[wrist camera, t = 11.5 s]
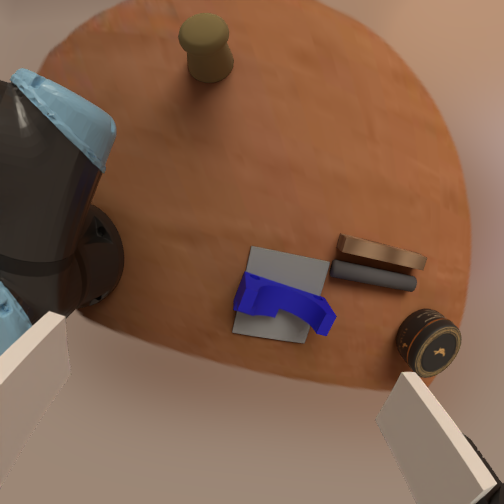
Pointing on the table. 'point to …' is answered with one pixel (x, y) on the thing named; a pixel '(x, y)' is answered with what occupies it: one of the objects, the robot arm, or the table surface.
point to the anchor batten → (380, 252)
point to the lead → (372, 276)
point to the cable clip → (282, 302)
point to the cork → (206, 47)
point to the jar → (428, 342)
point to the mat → (288, 273)
